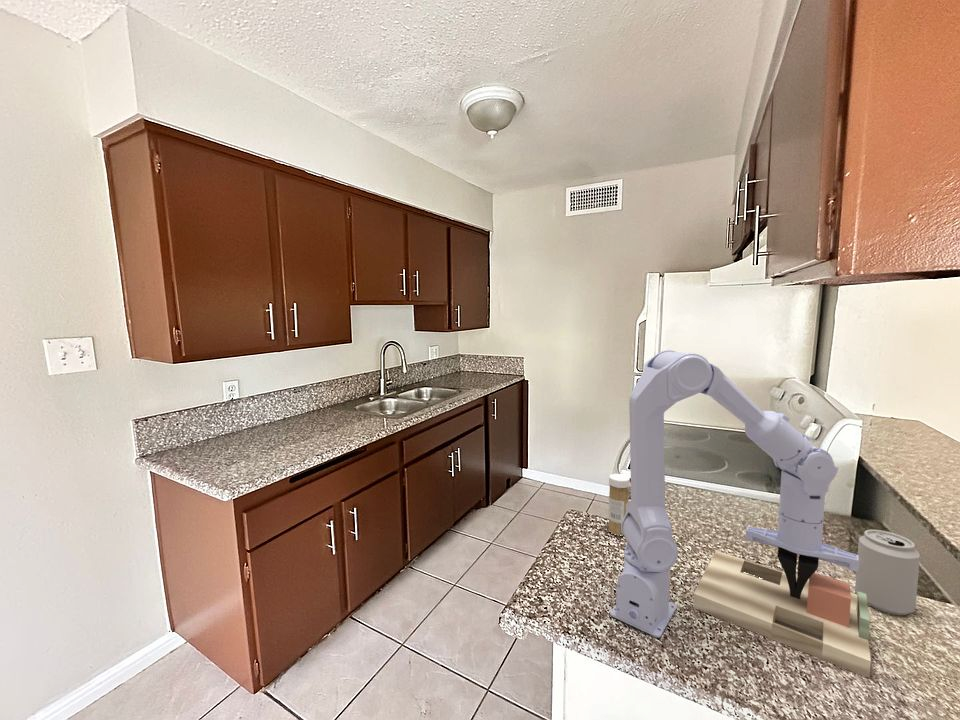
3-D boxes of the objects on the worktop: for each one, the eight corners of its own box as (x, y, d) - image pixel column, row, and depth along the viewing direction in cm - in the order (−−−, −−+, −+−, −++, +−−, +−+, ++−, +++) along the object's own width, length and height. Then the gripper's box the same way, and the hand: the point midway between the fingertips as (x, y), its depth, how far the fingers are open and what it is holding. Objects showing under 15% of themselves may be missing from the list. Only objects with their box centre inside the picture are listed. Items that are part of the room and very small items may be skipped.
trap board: (869, 678, 56) (872, 640, 56) (692, 607, 70) (694, 576, 70) (861, 610, 70) (864, 579, 69) (715, 562, 84) (716, 536, 84)
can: (901, 623, 67) (907, 552, 66) (845, 596, 74) (850, 531, 73) (923, 611, 70) (929, 542, 69) (868, 585, 77) (873, 523, 76)
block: (848, 627, 62) (850, 599, 62) (806, 612, 65) (808, 585, 65) (847, 610, 66) (849, 583, 66) (807, 597, 69) (809, 571, 69)
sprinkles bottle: (632, 534, 96) (634, 477, 94) (619, 539, 93) (621, 481, 92) (615, 526, 99) (617, 471, 98) (603, 531, 97) (604, 475, 96)
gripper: (859, 520, 66) (853, 601, 67) (751, 496, 75) (747, 567, 76) (861, 537, 60) (855, 625, 61) (745, 509, 70) (741, 585, 71)
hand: (795, 594), depth 68 cm, fingers closed
